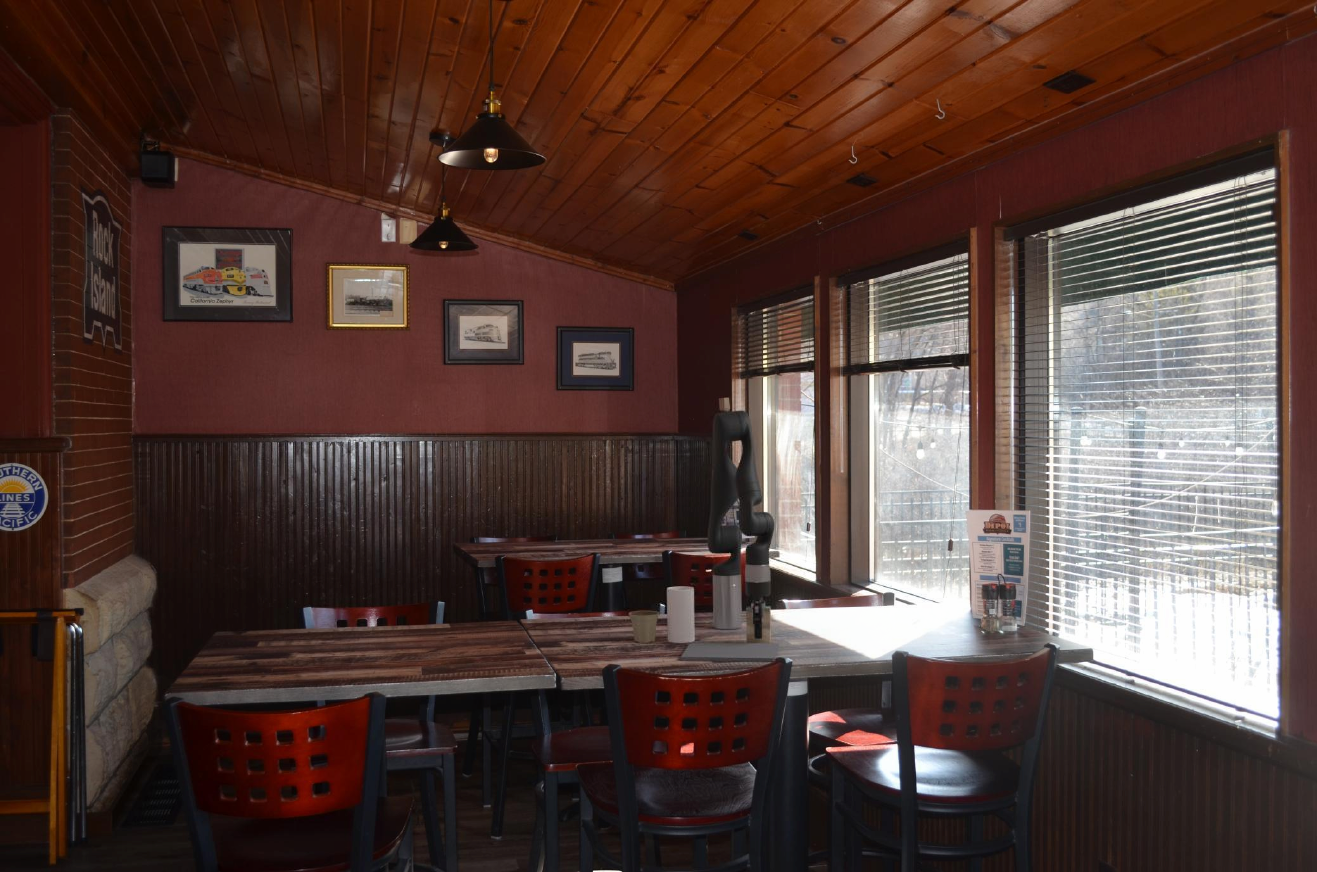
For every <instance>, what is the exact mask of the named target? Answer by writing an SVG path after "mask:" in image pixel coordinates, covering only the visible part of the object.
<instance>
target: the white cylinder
mask: <svg viewBox="0 0 1317 872" xmlns="http://www.w3.org/2000/svg"><path fill="white" fill-rule="evenodd" d="M666 609H667V610H666V612H667V613H666V614H667V620H666V621H667V641H668V642H669V643H674V644H687V643H691V642H696V641H695V636H696V635H695V589H694V587H692V586H683V585H682V586H671V587H667V588H666Z"/></svg>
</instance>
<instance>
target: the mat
mask: <svg viewBox="0 0 1317 872" xmlns="http://www.w3.org/2000/svg"><path fill="white" fill-rule="evenodd" d="M779 647H780V646H779V643H777V642H771V643H747V642H709V641H707V642H706V641H705V642H703V641H702V642H700V641H697V642H696V641H693V642H689V644H688V646H687V647H686V648H685V650H684V651H683V653H682V654H681V656H680V661H689V662H691V661H693V662H694V661H695V662H699V661H700V662H750V663H751V662H753V663H754V662H755V663H757V662H758V663H759V662H760V663H762V662H765V663H772V662H771V661H773V660H775V661H776V659H775V658H777V656H778V655H777V654H778V650H779Z"/></svg>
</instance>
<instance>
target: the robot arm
mask: <svg viewBox="0 0 1317 872" xmlns="http://www.w3.org/2000/svg"><path fill="white" fill-rule="evenodd" d="M750 419H751V418H750V417H749V415H748V412H746V411H745V410H732V411H726V412H718V413H716V414H715V415H714V418H713V420H712V445H713V448H712V449H713V452H712V453H713V454H712V455H713V457H712V470H711V471H712V473H711V486H710V514H709V521H708V522H709V523H708V530H707V548H708V552H709V553H711V554H716V555H718V554H720V555H721V554H724V555H725V554H727V555H728V554H730V556H729V557H728V558H727V559H725V560H724V561H722V562H720V563H717V564H714V565H713V566H712V597H713V598H712V602H713V603H712V607H713V608H712V609H713V612H712V613H713V616H712V617H713V628H714V629H718V630H735V629H741V628H742V627H743V617H742V615H743V609H742V563H741V562H742V560H741V559H742V558H741V556H742V534H743V536H745V537H756V539H755V541H754V542H753V543H750V544H747V546H746V547H745V570H744V580H745V581H744V582H745V584H744V585H745V589H744V591H745V593H744V594H745V595H746V596H747V597H752V598H753V600H752V601H751V603H750V605H751V607H752V617H753V625H754V636H755V639H761V638H762V625H763V623H762V618H763V617H764V608H765V607H766V600H764V599H763V597H769V596H770V595H771V593H772V592H771V591H772V590H771V587H772V586H771V585H772V584H771V581H772V580H771V567H770V549H771V546H772V545H771V544H772V539H773V535H774V532H775V519H774V518H773V515H772V514H771V513H769V512H767V511H758V512H755V511H754V507H756V506H758V505H760V504H761V503H762V502H763V494H762V490H761V486H760V482H759V479H758V478H759V477H758V472H757V466H756V456H755V445H754V438H753V429H752V428H753V427H752V423H751V420H750ZM731 442H732V443H733V442H741V446H742V449H741V450H742V451H741V452H742V453H741V456H740V460H739V463H738V466H736V464H735V463H734V462H733V459H731V458H730V456H729V454H728V453H727V444H728V443H731ZM737 500H738V501H739V502H738V503H739V504H738V505H739V506H738V509H739V510H738V525H737V524H729V525H728V524H727V525H726V524H724V525H723V524H722V522H723V519H724V517H725V516H726V515H727V513H728V512H729V511H730V510H731V509H732V508H733V506H734V505H735V504H736V502H737ZM761 612H762V614H761ZM756 618H760V621H756Z"/></svg>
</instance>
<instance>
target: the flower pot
mask: <svg viewBox="0 0 1317 872" xmlns="http://www.w3.org/2000/svg"><path fill="white" fill-rule="evenodd" d="M659 615H660V612H659V611H655V610H636V611H635V610H634V611H631V612H629V613H628V616H629V617H630V620H631V625H632V627H631V628H632V631H633V639H634V642H635V641H636V642H635V643H640V644H649V643H652V642H656V632H657V625H658V623H657V622H658V619H659Z"/></svg>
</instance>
